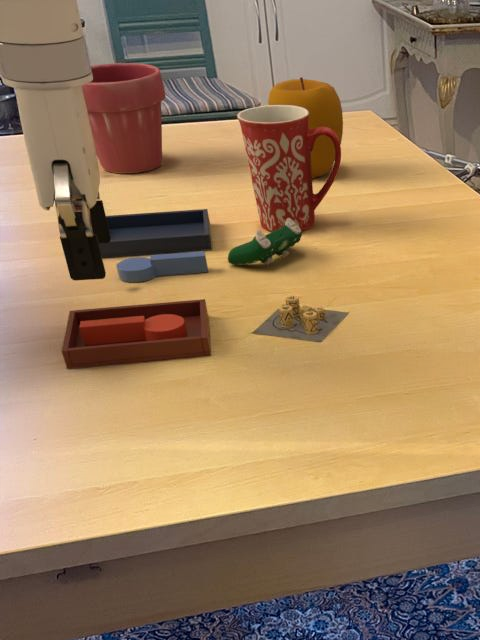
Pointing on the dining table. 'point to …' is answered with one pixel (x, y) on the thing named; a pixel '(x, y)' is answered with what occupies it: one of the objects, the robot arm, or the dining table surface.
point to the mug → (284, 163)
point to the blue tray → (157, 233)
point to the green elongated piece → (266, 245)
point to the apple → (314, 115)
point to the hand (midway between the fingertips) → (92, 259)
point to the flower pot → (126, 116)
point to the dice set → (300, 321)
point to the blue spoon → (161, 266)
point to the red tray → (143, 349)
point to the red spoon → (132, 329)
